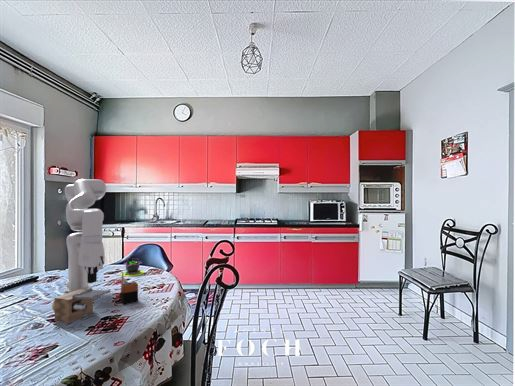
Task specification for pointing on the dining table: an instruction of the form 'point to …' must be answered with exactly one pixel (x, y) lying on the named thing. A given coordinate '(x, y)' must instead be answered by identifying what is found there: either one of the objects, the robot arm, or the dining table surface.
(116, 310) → the dining table surface
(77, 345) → the dining table surface
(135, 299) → the battery
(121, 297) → the tow hook
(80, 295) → the grey flat plate
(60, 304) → the block
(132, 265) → the toy cauldron
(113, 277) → the dining table surface
